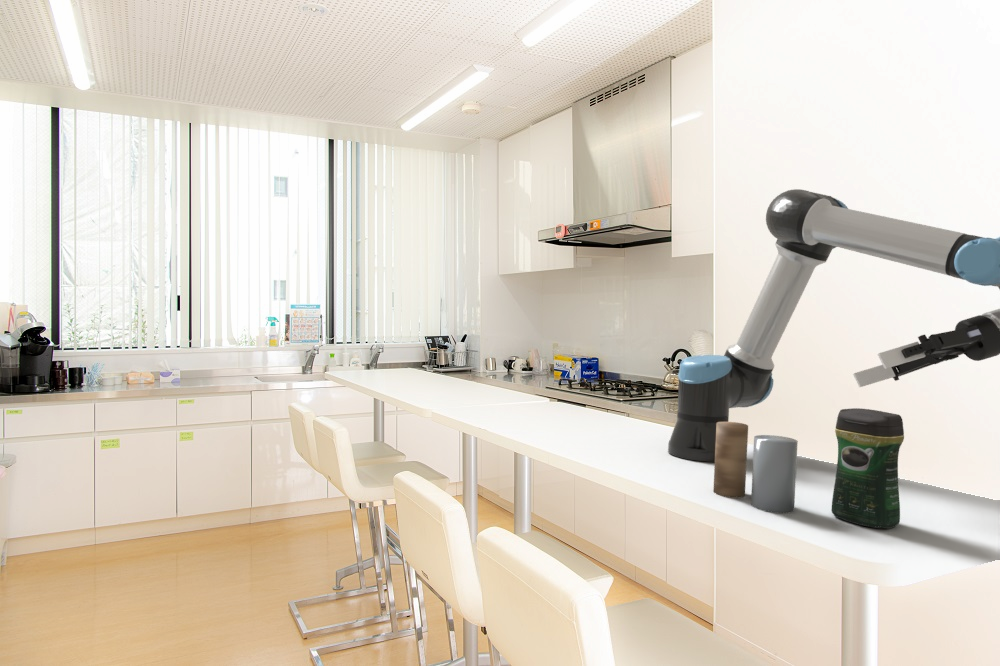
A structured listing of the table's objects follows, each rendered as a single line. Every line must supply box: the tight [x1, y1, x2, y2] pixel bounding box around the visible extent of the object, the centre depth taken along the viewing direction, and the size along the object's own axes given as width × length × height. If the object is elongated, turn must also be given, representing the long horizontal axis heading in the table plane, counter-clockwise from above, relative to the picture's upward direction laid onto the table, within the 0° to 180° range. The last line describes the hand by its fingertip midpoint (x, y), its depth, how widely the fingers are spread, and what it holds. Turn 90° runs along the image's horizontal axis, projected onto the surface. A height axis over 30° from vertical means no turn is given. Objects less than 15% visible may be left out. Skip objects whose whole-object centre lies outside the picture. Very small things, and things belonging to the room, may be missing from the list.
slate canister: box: [750, 434, 798, 514], centre depth 114 cm, size 7×7×12 cm
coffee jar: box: [831, 407, 905, 530], centre depth 108 cm, size 10×8×19 cm
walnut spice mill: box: [712, 421, 749, 498], centre depth 122 cm, size 6×6×13 cm
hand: (868, 371), depth 116 cm, fingers open, 13 cm apart
